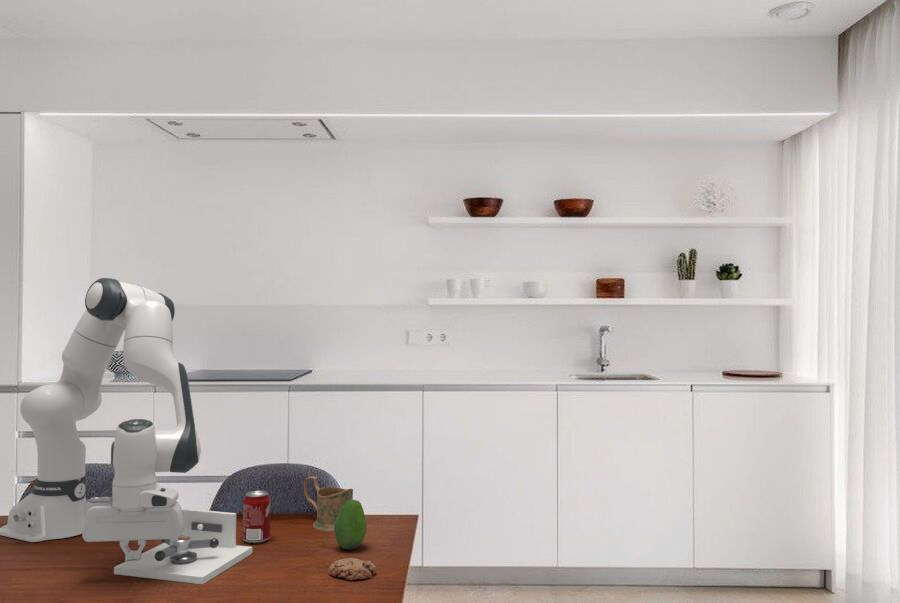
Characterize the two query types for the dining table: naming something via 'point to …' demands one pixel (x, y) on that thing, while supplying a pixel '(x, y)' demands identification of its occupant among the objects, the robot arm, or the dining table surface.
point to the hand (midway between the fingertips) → (133, 560)
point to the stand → (208, 559)
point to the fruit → (350, 525)
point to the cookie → (352, 569)
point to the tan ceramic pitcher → (327, 504)
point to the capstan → (183, 549)
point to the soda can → (256, 517)
